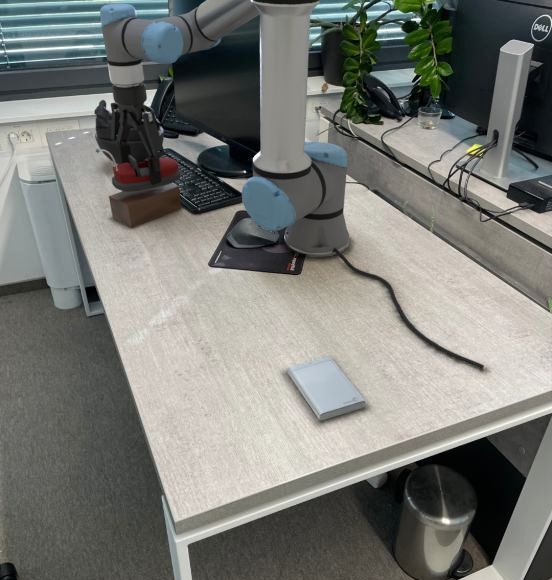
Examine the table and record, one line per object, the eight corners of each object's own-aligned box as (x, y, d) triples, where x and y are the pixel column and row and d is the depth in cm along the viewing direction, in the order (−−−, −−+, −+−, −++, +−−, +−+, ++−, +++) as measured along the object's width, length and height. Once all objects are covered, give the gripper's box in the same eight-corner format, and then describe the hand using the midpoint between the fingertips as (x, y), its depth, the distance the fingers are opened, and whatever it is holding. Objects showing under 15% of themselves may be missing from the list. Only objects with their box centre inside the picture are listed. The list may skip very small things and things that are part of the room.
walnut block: (181, 207, 153) (178, 185, 149) (131, 227, 144) (127, 205, 140) (162, 199, 157) (159, 177, 154) (112, 218, 148) (108, 196, 144)
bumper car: (187, 181, 146) (183, 141, 140) (109, 197, 138) (102, 156, 132) (172, 168, 153) (168, 129, 147) (97, 183, 145) (90, 143, 139)
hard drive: (365, 400, 92) (330, 354, 101) (319, 414, 90) (287, 366, 99) (364, 407, 93) (329, 362, 102) (319, 421, 91) (287, 374, 100)
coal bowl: (180, 161, 179) (174, 97, 168) (136, 182, 166) (125, 115, 154) (133, 149, 188) (123, 88, 176) (87, 169, 174) (73, 104, 163)
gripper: (173, 89, 127) (183, 185, 141) (112, 71, 139) (126, 161, 153) (146, 96, 123) (159, 194, 136) (85, 77, 135) (102, 169, 149)
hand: (142, 177), depth 145 cm, fingers closed on bumper car, 11 cm apart
